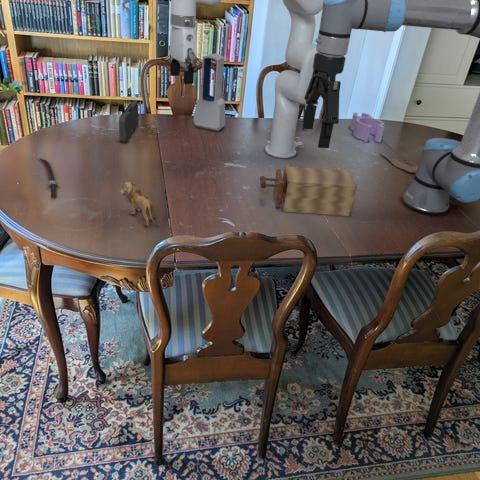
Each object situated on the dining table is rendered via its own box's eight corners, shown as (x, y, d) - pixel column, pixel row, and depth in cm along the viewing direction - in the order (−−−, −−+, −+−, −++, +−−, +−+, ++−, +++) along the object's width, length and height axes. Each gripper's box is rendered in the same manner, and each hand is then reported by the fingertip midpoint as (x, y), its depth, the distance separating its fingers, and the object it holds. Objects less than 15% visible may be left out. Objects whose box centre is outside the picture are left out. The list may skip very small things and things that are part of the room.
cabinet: (283, 211, 147) (288, 181, 141) (280, 194, 156) (284, 165, 151) (349, 216, 148) (356, 186, 143) (342, 199, 158) (349, 170, 152)
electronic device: (225, 127, 206) (230, 56, 190) (219, 132, 200) (224, 59, 184) (199, 122, 209) (202, 51, 193) (192, 127, 203) (195, 54, 187)
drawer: (258, 205, 146) (262, 181, 142) (257, 191, 155) (260, 167, 150) (337, 211, 148) (343, 187, 143) (331, 196, 156) (336, 173, 152)
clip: (343, 126, 223) (346, 112, 219) (367, 127, 225) (371, 113, 221) (360, 142, 206) (364, 127, 202) (386, 142, 209) (390, 127, 205)
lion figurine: (118, 210, 138) (116, 182, 133) (132, 204, 141) (131, 177, 137) (151, 229, 130) (150, 201, 126) (165, 223, 134) (165, 195, 129)
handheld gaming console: (132, 123, 200) (131, 100, 194) (138, 124, 200) (138, 100, 194) (118, 143, 180) (117, 117, 175) (125, 143, 180) (124, 118, 175)
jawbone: (419, 178, 180) (420, 173, 178) (370, 161, 190) (371, 157, 189) (428, 170, 185) (429, 165, 184) (380, 154, 196) (381, 150, 195)
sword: (61, 197, 141) (61, 193, 140) (50, 198, 139) (50, 194, 139) (49, 160, 164) (48, 156, 163) (39, 160, 163) (39, 157, 162)
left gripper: (207, 26, 136) (204, 86, 145) (181, 16, 148) (180, 72, 157) (184, 26, 132) (183, 87, 141) (159, 16, 144) (159, 73, 153)
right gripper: (301, 42, 123) (289, 121, 134) (333, 65, 102) (316, 156, 114) (328, 44, 124) (314, 122, 135) (365, 67, 104) (344, 156, 115)
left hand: (181, 79), depth 149 cm, fingers open, 9 cm apart
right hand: (314, 137), depth 125 cm, fingers open, 13 cm apart
